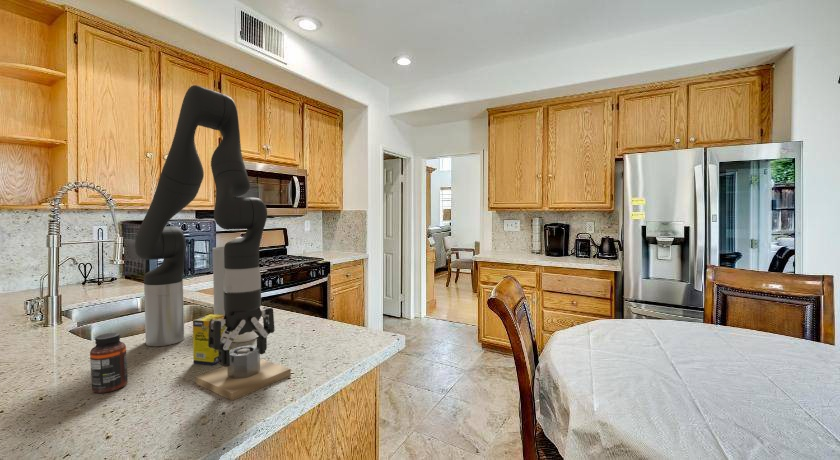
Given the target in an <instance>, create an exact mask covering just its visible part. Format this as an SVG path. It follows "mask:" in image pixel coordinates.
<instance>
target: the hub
mask: <svg viewBox="0 0 840 460" xmlns="http://www.w3.org/2000/svg"><path fill="white" fill-rule="evenodd" d="M246 348H247V349H250V352H249V353H245V354H237V351H238V350H240V349H246ZM260 358H261V354H260V347H257V345H253V344H252V345H241V346H237V347H234V348H230V366H228V367H227V373H228V376H229V377H231V378H233V379H240V378H248V377H251V376H253V375H256V374H258V372H259V370H260Z"/></svg>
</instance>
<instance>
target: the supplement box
mask: <svg viewBox="0 0 840 460" xmlns="http://www.w3.org/2000/svg"><path fill="white" fill-rule="evenodd" d="M224 316H225V315H216V314H214V313H212V314H210V313H209V314H207V315H204V316H203V317H202V316H201V317H199V318H197V319H196V318H195V319H193V320H192V340H193V341H192V345H193V346H192V347H193V348H192V351H193V356H192V357H193V358H192V359H193V364H199V365H209V366H214V365H217V363H219V354H218V350H215V349H213V348H210V347H208V338H209V321H210V320H211V319H214V320H219V319H223V318H224ZM225 328H226V326H225V325H223V329H221V337H222V333H223V331H224V330H225ZM230 346H231V345H230ZM230 346H229V348H228V349H229V350H230V349H231V348H230Z"/></svg>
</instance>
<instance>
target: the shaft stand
mask: <svg viewBox="0 0 840 460" xmlns="http://www.w3.org/2000/svg"><path fill="white" fill-rule="evenodd" d="M249 352H250V349H247V348H246V349H240V350H238V351H237V354H245V353H249ZM291 374H292V372H291V368H290V367H286V366H284V365H280V364H278V363H274V362H273V361H269V360H265V359H263V358H261V357H260V370H259V372H258V374H256V375H253V376H251V377H248V378H240V379H233V378H231V377H229V376H228V373H227V367H224V366H221V367H219V368H216V369H212V370H210V371H207V372H205V373H202V374H199V375H196V376H195V384H197V386H198V385H199V386H200V387H202V388H205V389H207V390H209V391H211V392H213V393H215V394H217V395H220V396H221V397H223V398H226V399H228V400H230V401H234V400H237V399H239V398H241V397H243V396H246V395H248V394H250V393H253V392H255V391H257V390H260V389H263V388H265V387H267V386H269V385H271V384H273V383H276V382H278V381H281V380H283V379H285V378H288V377H290V376H291Z"/></svg>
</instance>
